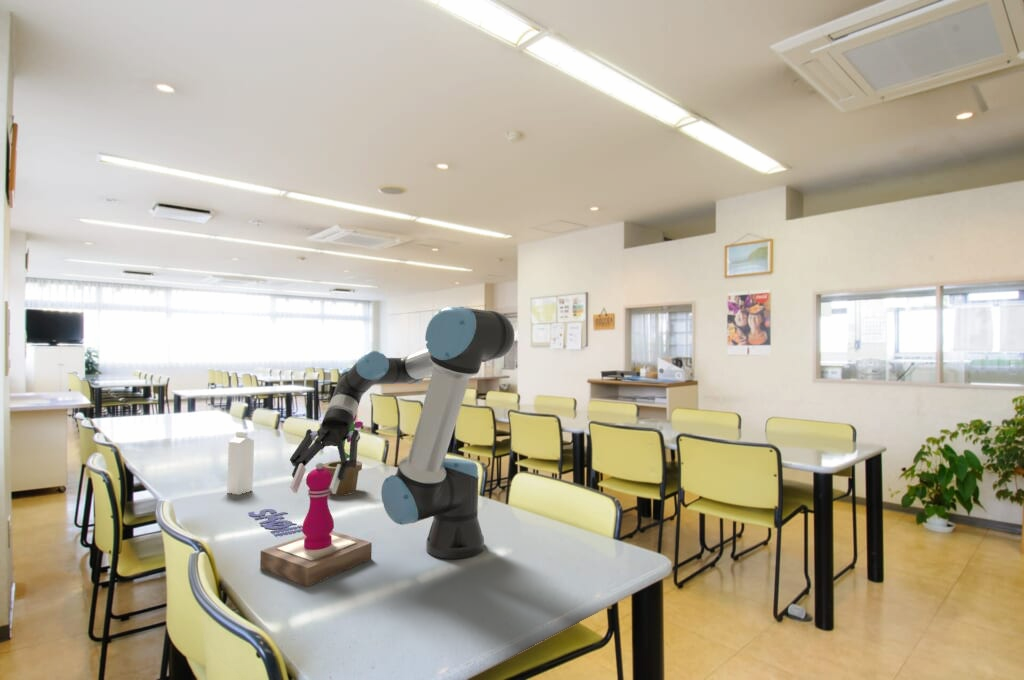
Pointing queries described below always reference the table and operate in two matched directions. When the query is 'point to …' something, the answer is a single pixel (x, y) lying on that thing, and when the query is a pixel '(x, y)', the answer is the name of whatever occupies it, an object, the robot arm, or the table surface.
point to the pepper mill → (318, 510)
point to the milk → (240, 464)
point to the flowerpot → (351, 474)
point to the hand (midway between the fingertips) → (313, 490)
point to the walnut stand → (315, 558)
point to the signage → (275, 522)
